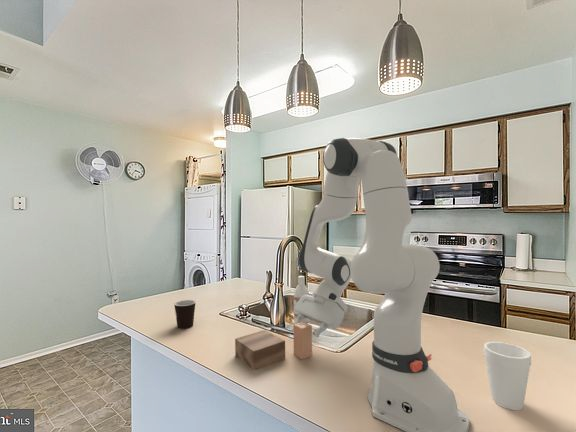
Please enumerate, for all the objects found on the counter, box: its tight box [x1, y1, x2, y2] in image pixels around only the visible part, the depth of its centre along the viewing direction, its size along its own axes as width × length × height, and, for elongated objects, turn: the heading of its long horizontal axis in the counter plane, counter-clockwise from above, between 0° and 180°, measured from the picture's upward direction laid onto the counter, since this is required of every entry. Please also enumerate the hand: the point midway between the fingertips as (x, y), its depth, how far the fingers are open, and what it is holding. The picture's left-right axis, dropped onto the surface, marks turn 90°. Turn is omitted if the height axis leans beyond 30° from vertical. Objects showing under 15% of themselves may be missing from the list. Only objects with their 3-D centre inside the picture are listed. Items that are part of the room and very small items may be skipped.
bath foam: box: [293, 275, 311, 324], centre depth 131 cm, size 7×7×20 cm
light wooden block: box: [292, 322, 313, 360], centre depth 100 cm, size 4×4×10 cm
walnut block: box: [234, 329, 286, 371], centre depth 99 cm, size 12×12×6 cm
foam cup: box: [483, 340, 532, 411], centre depth 74 cm, size 10×9×13 cm
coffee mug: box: [174, 299, 196, 330], centre depth 129 cm, size 12×9×10 cm
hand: (305, 331), depth 101 cm, fingers open, 8 cm apart
